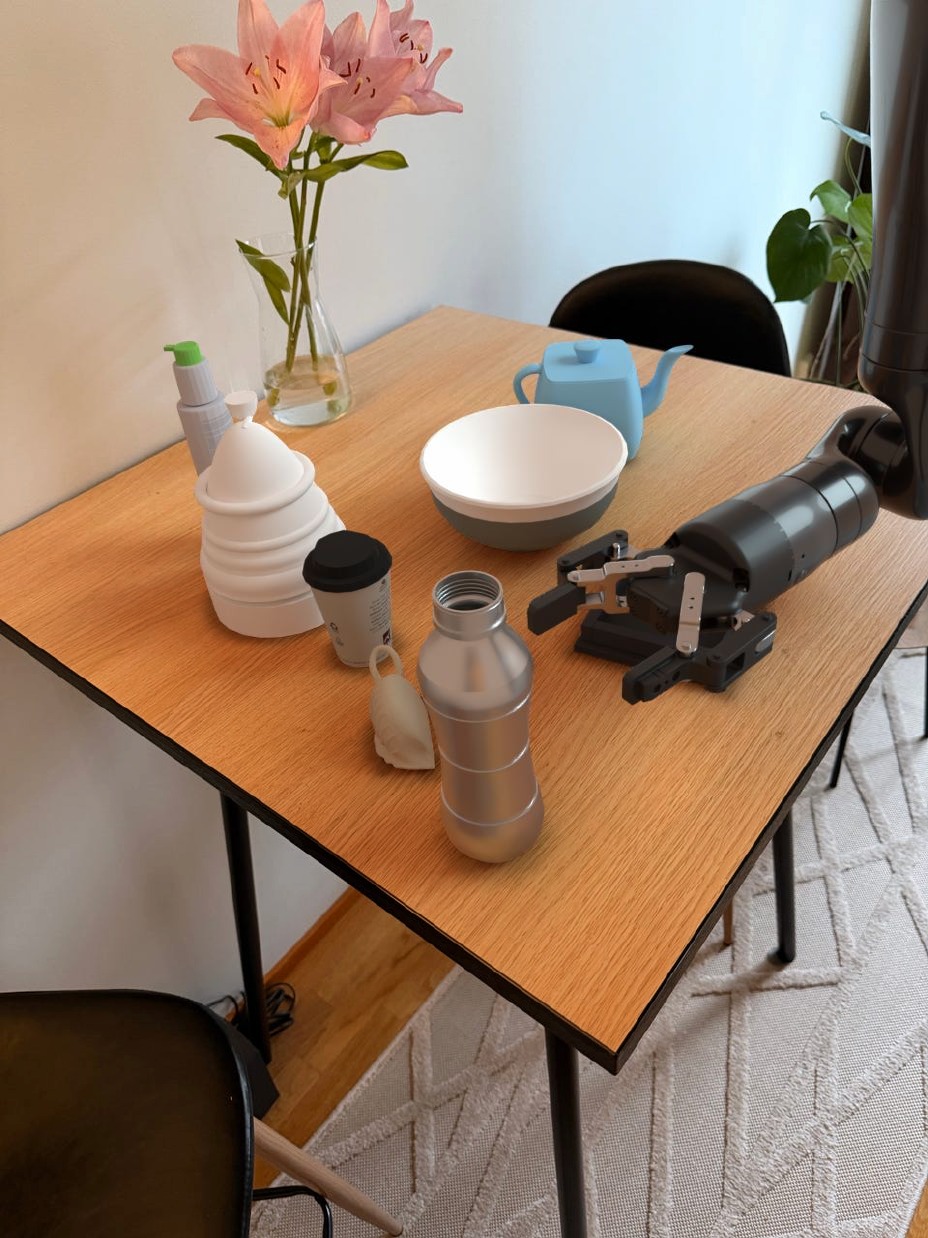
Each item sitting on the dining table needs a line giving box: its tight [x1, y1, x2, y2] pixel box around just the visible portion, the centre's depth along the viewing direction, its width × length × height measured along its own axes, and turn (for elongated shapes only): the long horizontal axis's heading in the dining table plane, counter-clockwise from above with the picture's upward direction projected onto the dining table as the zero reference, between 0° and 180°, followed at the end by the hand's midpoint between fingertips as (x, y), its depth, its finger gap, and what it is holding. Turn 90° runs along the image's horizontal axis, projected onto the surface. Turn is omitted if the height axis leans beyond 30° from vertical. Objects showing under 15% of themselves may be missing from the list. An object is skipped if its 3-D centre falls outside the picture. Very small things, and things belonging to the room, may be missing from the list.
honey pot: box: [193, 389, 347, 639], centre depth 76 cm, size 13×13×18 cm
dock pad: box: [573, 578, 760, 692], centre depth 73 cm, size 12×12×2 cm
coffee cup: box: [302, 529, 393, 668], centre depth 71 cm, size 7×7×10 cm
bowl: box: [418, 403, 628, 553], centre depth 84 cm, size 19×19×8 cm
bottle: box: [163, 340, 235, 478], centre depth 82 cm, size 4×4×20 cm
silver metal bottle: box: [415, 570, 546, 864], centre depth 53 cm, size 6×7×20 cm
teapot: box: [512, 338, 694, 462], centre depth 94 cm, size 12×18×12 cm
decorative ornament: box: [368, 645, 436, 770], centre depth 65 cm, size 4×8×5 cm, turn 6°
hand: (576, 655), depth 55 cm, fingers open, 8 cm apart
